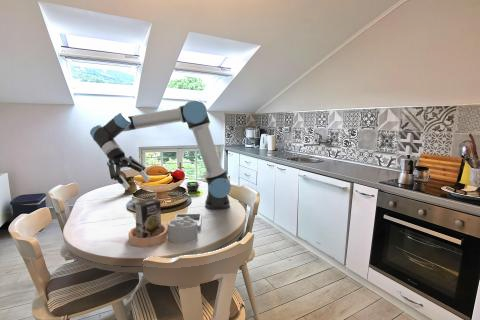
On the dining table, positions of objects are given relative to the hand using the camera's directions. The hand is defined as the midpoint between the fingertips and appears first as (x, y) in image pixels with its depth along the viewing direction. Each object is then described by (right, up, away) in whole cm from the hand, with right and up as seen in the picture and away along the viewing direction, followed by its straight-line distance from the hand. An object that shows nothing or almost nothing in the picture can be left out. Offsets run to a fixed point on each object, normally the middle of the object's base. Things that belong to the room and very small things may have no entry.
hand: (138, 184), depth 121 cm
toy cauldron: (+15, -12, +59) cm, 62 cm away
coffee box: (+8, -23, -8) cm, 26 cm away
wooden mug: (-30, -12, +55) cm, 64 cm away
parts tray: (+22, -21, +6) cm, 31 cm away
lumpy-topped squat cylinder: (+24, -24, -8) cm, 34 cm away
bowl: (+8, -23, -9) cm, 26 cm away
